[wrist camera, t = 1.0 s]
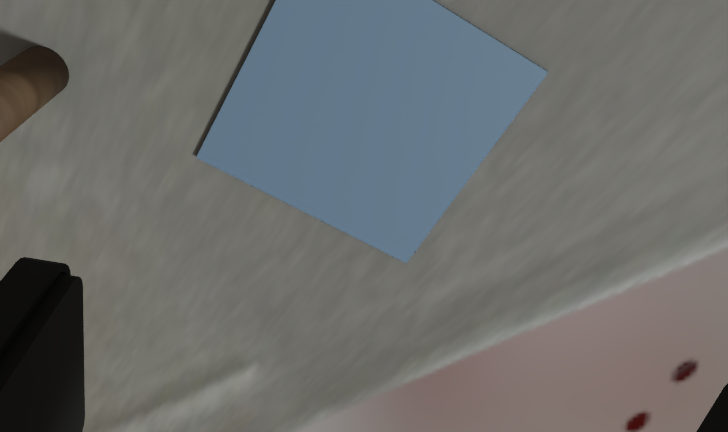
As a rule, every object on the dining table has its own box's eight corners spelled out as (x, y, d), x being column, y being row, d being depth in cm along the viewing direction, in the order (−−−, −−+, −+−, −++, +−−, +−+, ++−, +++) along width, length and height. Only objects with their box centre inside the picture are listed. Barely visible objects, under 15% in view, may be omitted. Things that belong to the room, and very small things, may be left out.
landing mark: (313, -75, 32) (313, -74, 32) (547, 71, 36) (548, 72, 35) (196, 156, 38) (195, 157, 38) (406, 261, 42) (406, 263, 42)
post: (26, 37, 35) (-59, 88, 28) (75, 62, 36) (3, 118, 29) (12, 78, 36) (-73, 138, 29) (60, 102, 37) (-13, 165, 30)
